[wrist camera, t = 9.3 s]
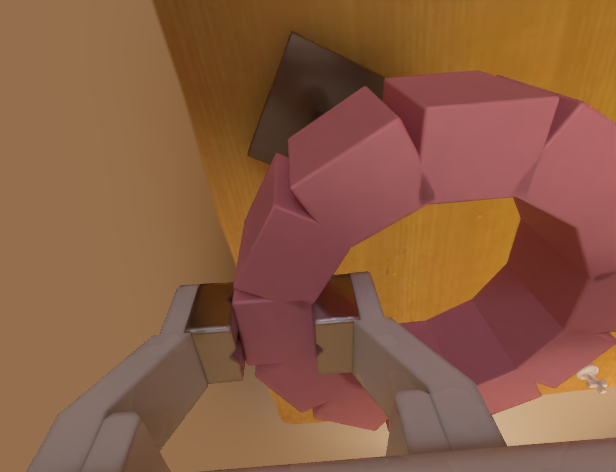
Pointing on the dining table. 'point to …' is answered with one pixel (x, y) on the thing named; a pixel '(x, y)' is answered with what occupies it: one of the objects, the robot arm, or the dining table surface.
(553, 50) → the dining table surface
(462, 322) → the ring
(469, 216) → the dining table surface
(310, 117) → the stand
